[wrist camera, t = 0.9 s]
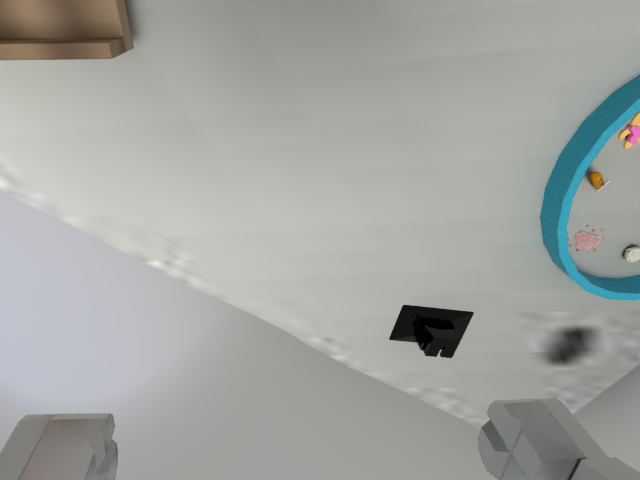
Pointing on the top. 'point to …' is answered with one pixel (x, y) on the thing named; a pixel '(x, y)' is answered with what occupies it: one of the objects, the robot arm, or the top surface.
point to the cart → (63, 29)
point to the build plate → (431, 328)
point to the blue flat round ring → (570, 176)
